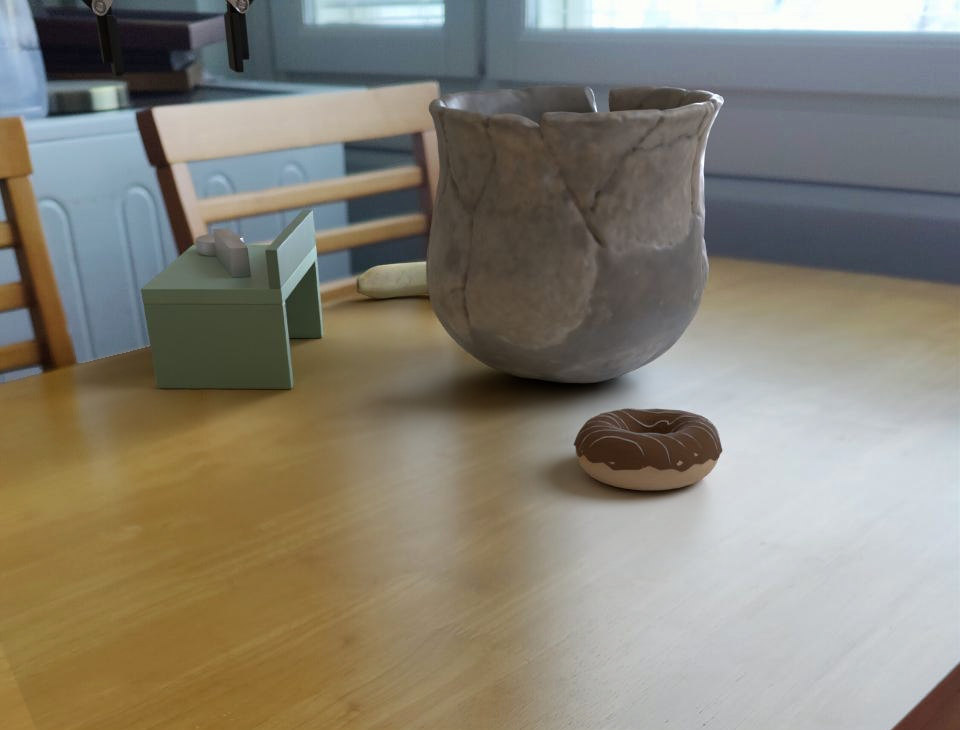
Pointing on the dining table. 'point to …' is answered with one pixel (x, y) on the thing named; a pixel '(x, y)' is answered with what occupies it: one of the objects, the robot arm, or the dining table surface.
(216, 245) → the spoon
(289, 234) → the green toy chair
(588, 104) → the pot
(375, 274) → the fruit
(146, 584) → the dining table surface
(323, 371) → the dining table surface
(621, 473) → the donut
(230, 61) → the robot arm
